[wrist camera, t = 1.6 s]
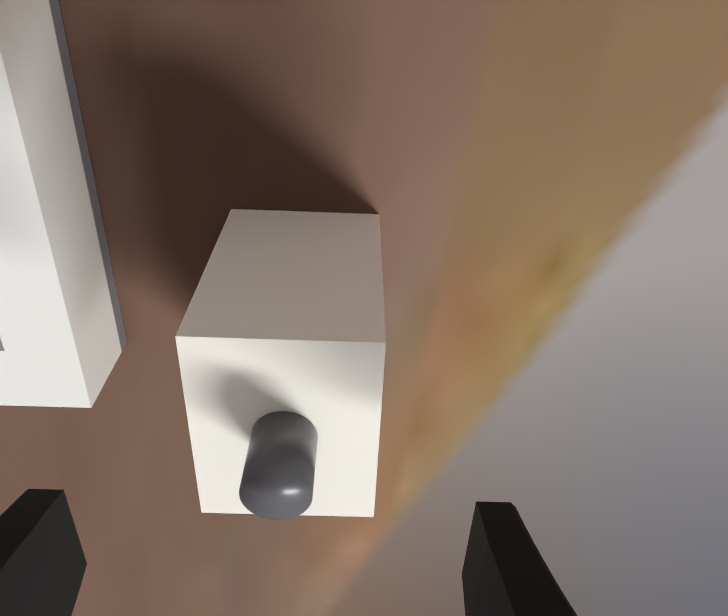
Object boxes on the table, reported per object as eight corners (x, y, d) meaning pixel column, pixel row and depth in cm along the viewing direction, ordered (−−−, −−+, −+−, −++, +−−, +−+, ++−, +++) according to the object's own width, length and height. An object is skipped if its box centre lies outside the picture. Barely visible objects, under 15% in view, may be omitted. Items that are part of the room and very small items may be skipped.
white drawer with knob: (243, 356, 20) (185, 574, 13) (231, 208, 17) (151, 391, 11) (371, 360, 20) (374, 577, 13) (379, 213, 17) (388, 398, 11)
